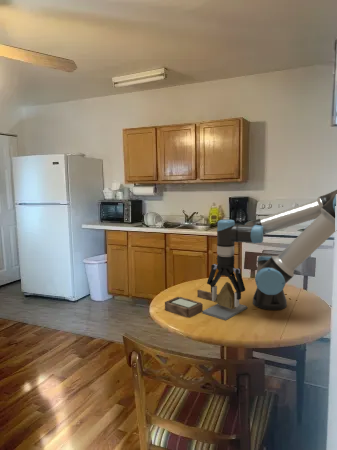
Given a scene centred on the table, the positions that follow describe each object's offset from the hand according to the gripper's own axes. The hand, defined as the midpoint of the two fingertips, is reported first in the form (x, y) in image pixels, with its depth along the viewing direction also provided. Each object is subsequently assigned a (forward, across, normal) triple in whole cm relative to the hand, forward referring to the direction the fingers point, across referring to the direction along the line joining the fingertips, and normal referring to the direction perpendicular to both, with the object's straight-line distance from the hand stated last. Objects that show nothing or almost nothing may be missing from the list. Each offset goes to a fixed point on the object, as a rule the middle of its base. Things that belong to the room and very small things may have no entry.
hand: (225, 303), depth 151 cm
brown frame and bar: (+3, +15, +5) cm, 16 cm away
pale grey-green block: (+4, +14, +12) cm, 18 cm away
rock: (+1, 0, 0) cm, 1 cm away
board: (+4, 0, 0) cm, 4 cm away
